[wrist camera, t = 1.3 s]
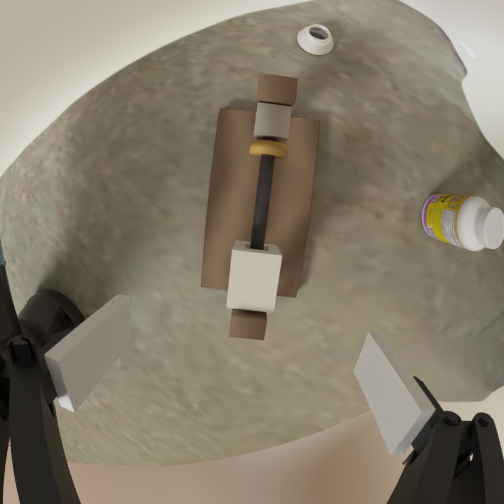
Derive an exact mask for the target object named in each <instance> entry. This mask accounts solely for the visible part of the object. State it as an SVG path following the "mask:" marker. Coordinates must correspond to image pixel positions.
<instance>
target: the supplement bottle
mask: <svg viewBox="0 0 504 504" xmlns="http://www.w3.org/2000/svg"><path fill="white" fill-rule="evenodd" d="M422 224H423V227H424V229H425V231H426V232H427V234H428V235H429V236H431V237H432V238H435V239H438V240H441V241H444V242H447V243H450V244H453V245H456V246H459V247H462V248H465V249H468V250H471V251H479V250H481V249H483V248H484V247H487V248H490V249H496V248H498V247H499V246H500V245H501V243H502V241H503V239H504V215H503V213H502V211H501V210H500V209H499V208H496V207H491V206H489V205H488V203H487V202H486V201H485V200H483V199H482V198H480V197H474V196H463V195H451V194H434V195H432V196H430V197H429V198H428V199H427V200H426V202H425V204H424V206H423V209H422Z"/></svg>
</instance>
